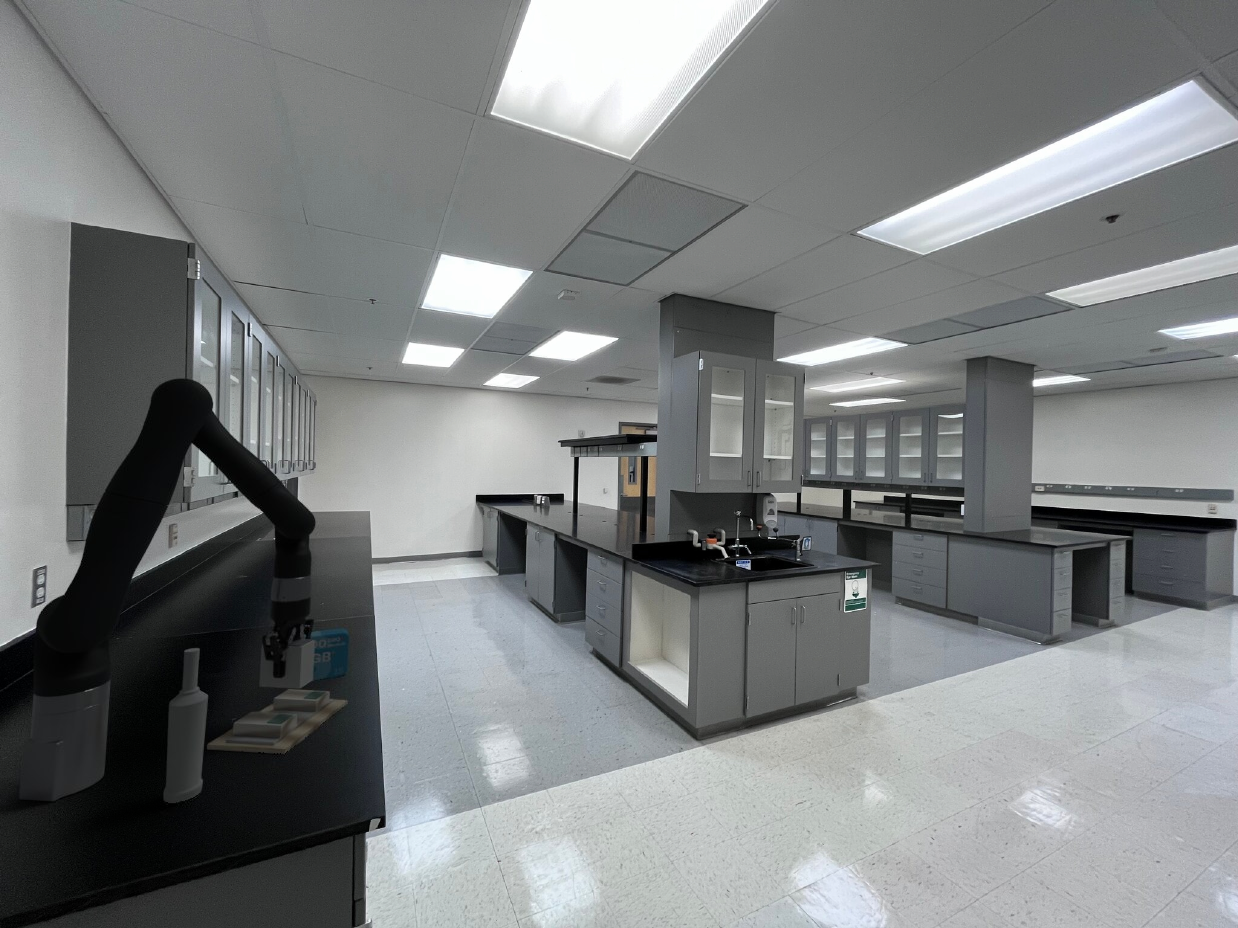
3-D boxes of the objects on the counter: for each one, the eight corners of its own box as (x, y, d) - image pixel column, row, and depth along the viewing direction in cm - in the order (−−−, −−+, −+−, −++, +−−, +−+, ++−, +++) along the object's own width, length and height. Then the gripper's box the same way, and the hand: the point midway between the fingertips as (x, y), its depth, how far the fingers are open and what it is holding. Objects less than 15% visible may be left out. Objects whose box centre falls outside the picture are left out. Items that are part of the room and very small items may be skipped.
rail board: (284, 753, 100) (286, 732, 100) (207, 749, 101) (208, 727, 101) (347, 704, 122) (348, 686, 122) (283, 700, 123) (284, 682, 123)
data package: (295, 683, 133) (298, 638, 133) (295, 677, 136) (298, 633, 137) (347, 675, 139) (349, 631, 140) (345, 669, 143) (348, 627, 143)
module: (299, 688, 110) (301, 645, 110) (259, 686, 110) (261, 643, 110) (312, 680, 114) (315, 639, 114) (274, 678, 114) (276, 636, 114)
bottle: (210, 786, 89) (218, 645, 90) (186, 806, 84) (195, 655, 85) (180, 786, 89) (189, 644, 90) (154, 805, 84) (163, 654, 85)
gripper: (285, 604, 105) (281, 687, 105) (327, 589, 119) (323, 661, 119) (250, 603, 105) (246, 685, 105) (296, 587, 120) (292, 660, 119)
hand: (287, 672), depth 112 cm, fingers closed on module, 4 cm apart
